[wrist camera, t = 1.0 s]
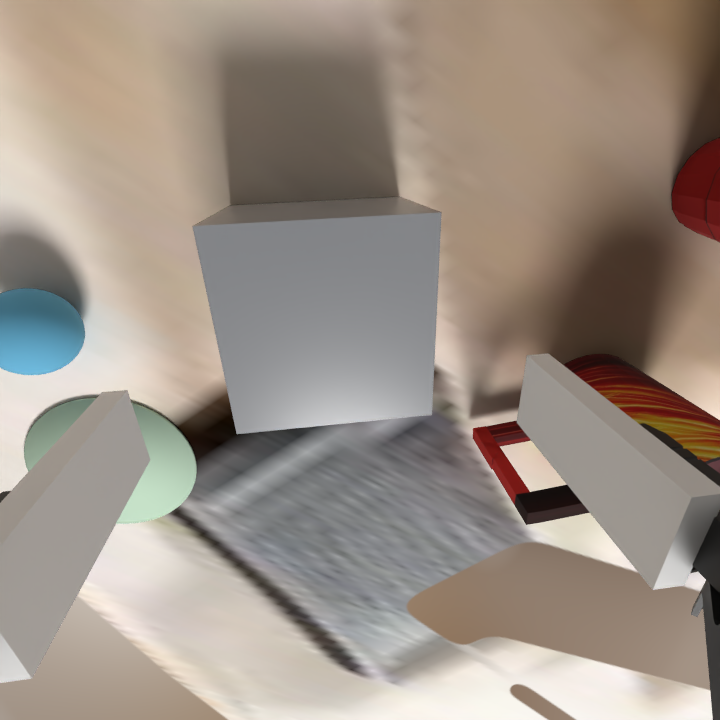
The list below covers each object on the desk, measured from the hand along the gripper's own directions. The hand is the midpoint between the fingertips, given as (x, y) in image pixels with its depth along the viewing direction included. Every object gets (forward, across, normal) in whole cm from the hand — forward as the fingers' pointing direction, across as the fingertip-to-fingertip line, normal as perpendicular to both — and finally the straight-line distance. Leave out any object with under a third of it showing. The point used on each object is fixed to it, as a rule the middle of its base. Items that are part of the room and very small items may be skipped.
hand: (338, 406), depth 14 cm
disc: (+15, -17, -13) cm, 26 cm away
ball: (+12, -17, -1) cm, 21 cm away
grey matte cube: (+15, 0, 0) cm, 15 cm away
